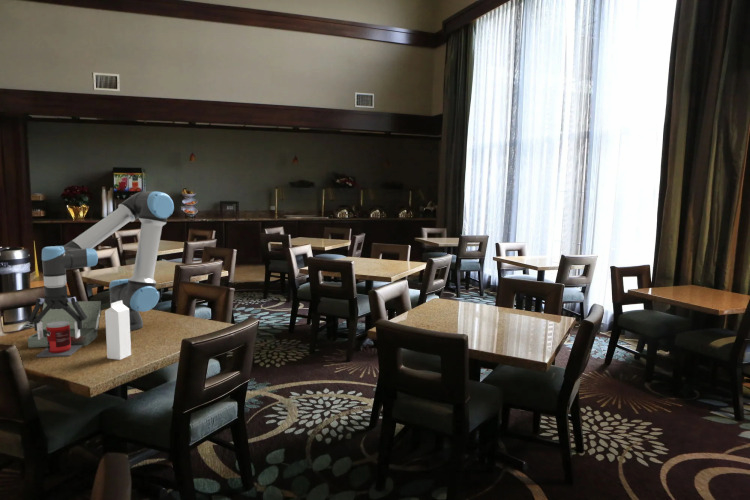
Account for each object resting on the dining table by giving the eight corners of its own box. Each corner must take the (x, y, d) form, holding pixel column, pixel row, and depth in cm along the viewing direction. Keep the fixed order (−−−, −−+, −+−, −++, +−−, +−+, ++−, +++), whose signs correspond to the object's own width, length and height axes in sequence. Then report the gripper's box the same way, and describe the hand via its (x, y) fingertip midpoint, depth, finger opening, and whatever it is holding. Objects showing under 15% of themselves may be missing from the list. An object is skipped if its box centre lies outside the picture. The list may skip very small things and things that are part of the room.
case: (104, 333, 226) (102, 300, 224) (89, 345, 209) (87, 310, 207) (46, 335, 222) (44, 301, 220) (26, 347, 205) (24, 311, 203)
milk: (107, 358, 194) (103, 302, 192) (118, 353, 200) (115, 299, 197) (120, 360, 193) (117, 303, 190) (131, 354, 199) (128, 300, 196)
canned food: (54, 347, 204) (52, 320, 203) (74, 346, 205) (73, 320, 204) (43, 353, 197) (41, 326, 195) (65, 353, 197) (63, 326, 196)
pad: (81, 346, 208) (81, 345, 208) (69, 356, 196) (69, 354, 196) (50, 347, 206) (50, 346, 206) (35, 357, 194) (35, 355, 194)
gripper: (93, 283, 203) (96, 333, 206) (25, 284, 199) (29, 336, 202) (86, 286, 196) (89, 339, 199) (15, 288, 192) (19, 342, 195)
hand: (59, 338), depth 200 cm, fingers open, 13 cm apart
